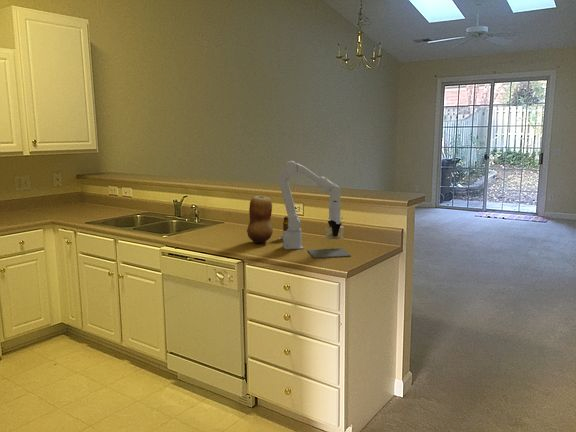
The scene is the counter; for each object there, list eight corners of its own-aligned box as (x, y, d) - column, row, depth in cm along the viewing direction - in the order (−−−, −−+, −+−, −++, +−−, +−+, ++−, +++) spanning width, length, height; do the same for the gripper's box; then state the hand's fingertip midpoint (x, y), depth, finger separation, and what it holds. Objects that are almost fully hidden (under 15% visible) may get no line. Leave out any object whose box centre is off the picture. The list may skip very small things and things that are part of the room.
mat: (314, 258, 231) (314, 257, 230) (307, 251, 244) (307, 250, 244) (351, 256, 234) (351, 255, 233) (342, 249, 247) (342, 248, 247)
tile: (326, 239, 248) (326, 227, 247) (325, 238, 251) (325, 226, 250) (343, 238, 250) (344, 227, 249) (342, 237, 253) (342, 226, 252)
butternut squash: (269, 246, 255) (268, 198, 250) (244, 245, 257) (243, 197, 253) (275, 240, 268) (274, 194, 264) (251, 239, 271) (250, 194, 266)
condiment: (293, 239, 269) (293, 218, 267) (278, 239, 270) (278, 217, 268) (295, 236, 276) (295, 215, 274) (280, 236, 277) (280, 215, 275)
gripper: (346, 211, 242) (346, 238, 244) (338, 206, 256) (338, 232, 258) (332, 211, 240) (332, 238, 243) (325, 206, 254) (325, 232, 257)
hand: (334, 235), depth 250 cm, fingers closed on tile, 3 cm apart
